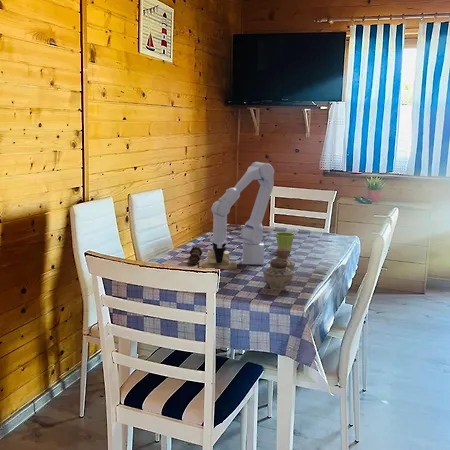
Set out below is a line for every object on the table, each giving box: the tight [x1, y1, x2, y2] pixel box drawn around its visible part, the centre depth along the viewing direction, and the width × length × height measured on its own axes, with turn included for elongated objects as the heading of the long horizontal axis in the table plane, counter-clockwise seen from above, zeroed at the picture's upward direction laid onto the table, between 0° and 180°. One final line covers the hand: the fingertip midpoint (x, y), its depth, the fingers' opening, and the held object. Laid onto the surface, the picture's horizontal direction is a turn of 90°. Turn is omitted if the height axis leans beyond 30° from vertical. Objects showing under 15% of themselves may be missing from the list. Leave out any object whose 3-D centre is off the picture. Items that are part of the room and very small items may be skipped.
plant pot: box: [274, 231, 296, 253], centre depth 263 cm, size 9×9×9 cm
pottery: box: [262, 247, 296, 292], centre depth 209 cm, size 11×25×12 cm, turn 169°
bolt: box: [188, 246, 203, 265], centre depth 240 cm, size 6×5×15 cm
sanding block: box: [207, 249, 230, 265], centre depth 233 cm, size 9×5×5 cm, turn 91°
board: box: [198, 259, 238, 270], centre depth 233 cm, size 16×10×1 cm, turn 92°
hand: (218, 261), depth 233 cm, fingers closed on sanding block, 5 cm apart
